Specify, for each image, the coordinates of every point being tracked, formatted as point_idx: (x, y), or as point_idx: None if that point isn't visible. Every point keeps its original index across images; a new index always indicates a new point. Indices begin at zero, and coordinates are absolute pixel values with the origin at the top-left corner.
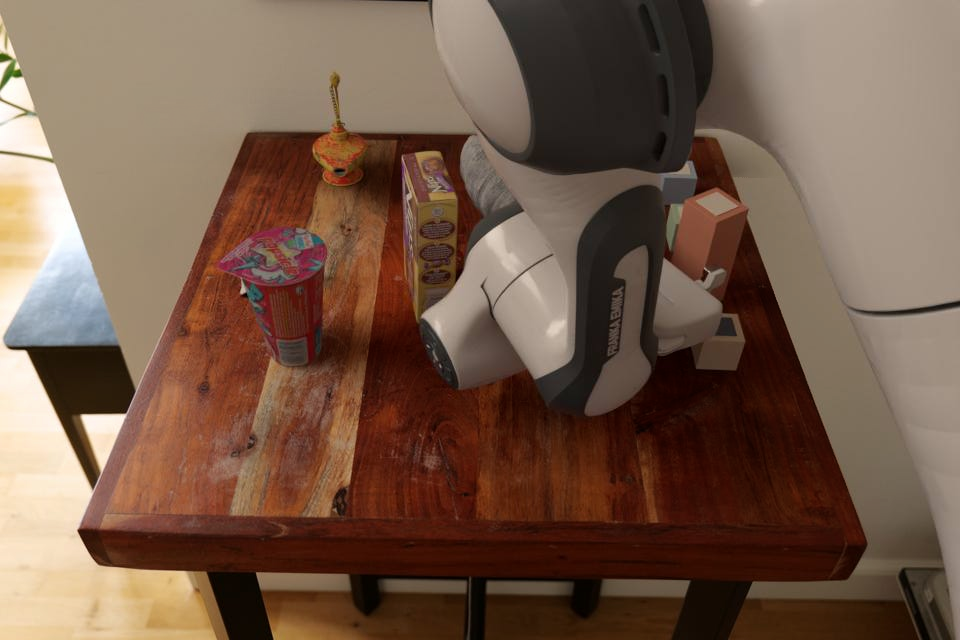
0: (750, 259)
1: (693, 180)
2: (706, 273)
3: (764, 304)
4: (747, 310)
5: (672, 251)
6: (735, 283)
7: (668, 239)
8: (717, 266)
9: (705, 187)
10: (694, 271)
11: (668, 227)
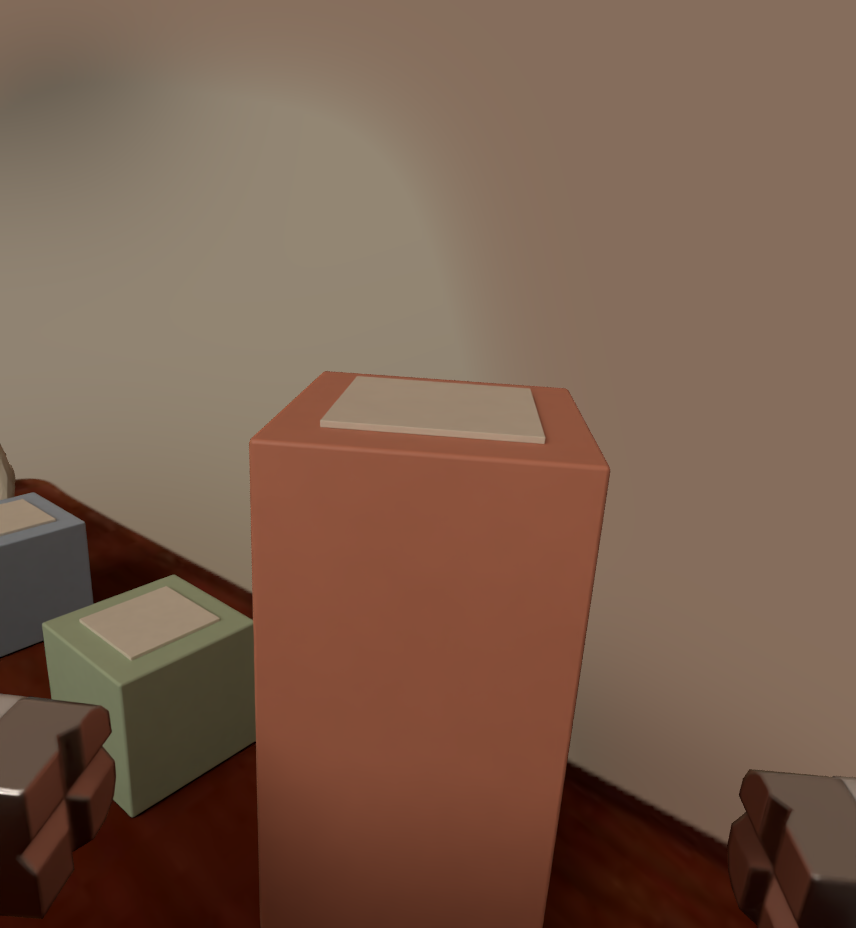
0: None
1: (73, 533)
2: (851, 910)
3: (606, 794)
4: (610, 864)
5: (143, 810)
6: None
7: None
8: (814, 784)
9: (101, 562)
10: (470, 888)
11: None
